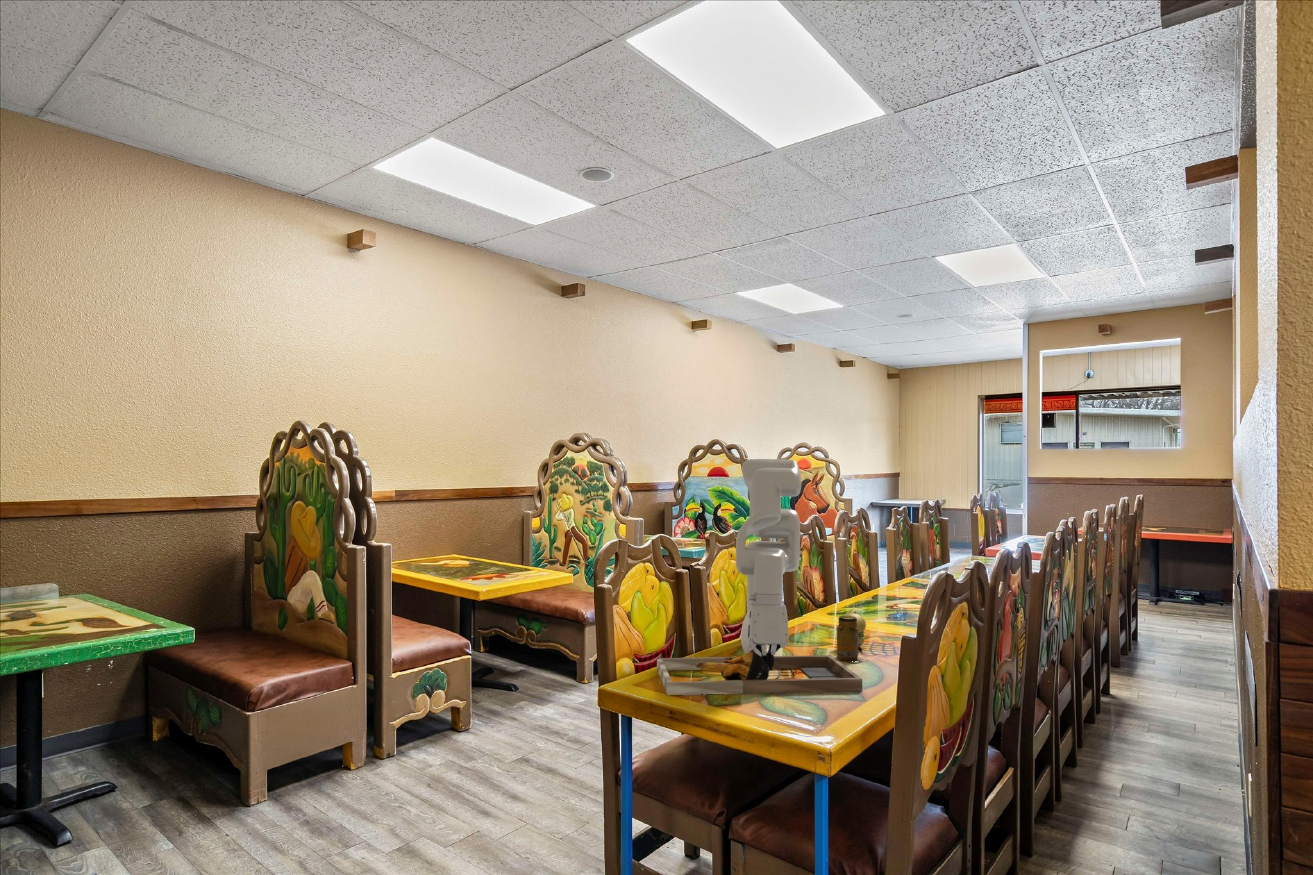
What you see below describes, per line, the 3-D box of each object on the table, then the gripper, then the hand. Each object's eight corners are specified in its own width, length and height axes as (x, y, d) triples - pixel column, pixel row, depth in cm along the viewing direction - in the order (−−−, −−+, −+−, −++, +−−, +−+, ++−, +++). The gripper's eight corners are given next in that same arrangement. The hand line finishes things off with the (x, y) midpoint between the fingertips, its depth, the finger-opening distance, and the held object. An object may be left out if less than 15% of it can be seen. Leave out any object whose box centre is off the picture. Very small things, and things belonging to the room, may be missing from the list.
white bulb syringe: (755, 663, 204) (756, 600, 205) (735, 658, 210) (736, 596, 210) (773, 659, 209) (774, 597, 210) (753, 653, 215) (753, 593, 216)
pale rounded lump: (859, 644, 228) (859, 606, 228) (870, 650, 220) (870, 611, 221) (836, 645, 226) (837, 606, 227) (846, 651, 219) (846, 611, 220)
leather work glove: (773, 672, 180) (705, 647, 181) (758, 704, 184) (692, 680, 185) (774, 649, 189) (709, 626, 190) (760, 681, 193) (696, 658, 194)
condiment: (845, 653, 216) (845, 613, 217) (869, 660, 210) (869, 618, 210) (830, 657, 212) (830, 616, 212) (854, 664, 205) (854, 622, 206)
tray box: (656, 669, 197) (657, 658, 197) (830, 665, 203) (830, 655, 203) (667, 695, 175) (667, 683, 175) (862, 691, 181) (862, 678, 181)
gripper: (743, 602, 185) (743, 674, 185) (799, 601, 187) (799, 672, 187) (736, 596, 193) (736, 666, 192) (790, 596, 195) (790, 664, 194)
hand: (767, 669), depth 189 cm, fingers closed
